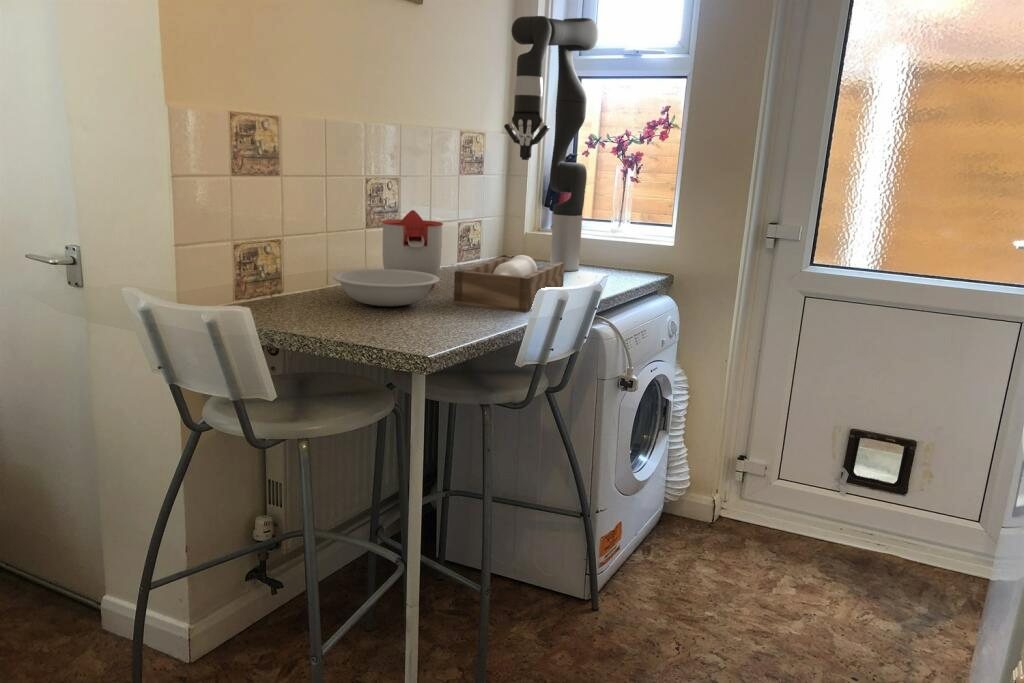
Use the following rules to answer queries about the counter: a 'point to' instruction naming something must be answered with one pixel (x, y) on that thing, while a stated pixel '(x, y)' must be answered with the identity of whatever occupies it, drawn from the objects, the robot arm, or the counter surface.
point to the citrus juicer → (412, 244)
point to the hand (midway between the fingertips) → (525, 159)
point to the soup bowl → (386, 285)
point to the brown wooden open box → (503, 286)
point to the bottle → (517, 266)
